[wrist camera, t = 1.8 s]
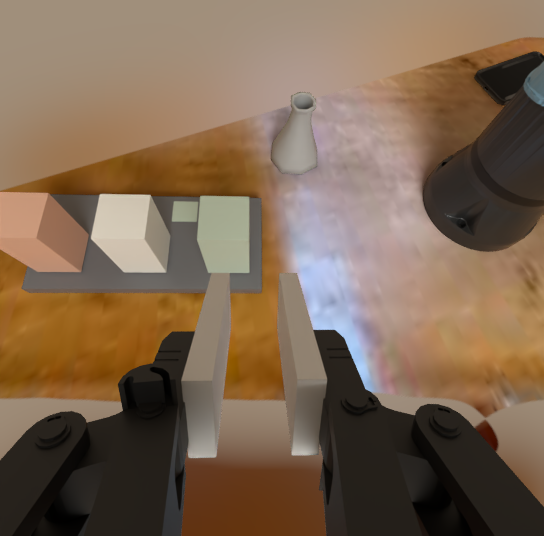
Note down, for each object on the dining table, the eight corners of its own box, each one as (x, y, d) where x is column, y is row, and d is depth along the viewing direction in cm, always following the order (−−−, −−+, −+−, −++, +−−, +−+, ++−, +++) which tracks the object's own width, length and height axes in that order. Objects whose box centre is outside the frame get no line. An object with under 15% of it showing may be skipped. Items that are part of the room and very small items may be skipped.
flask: (264, 142, 51) (267, 84, 42) (309, 134, 52) (322, 76, 43) (277, 180, 49) (283, 128, 39) (324, 171, 50) (340, 118, 41)
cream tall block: (170, 235, 42) (150, 194, 34) (166, 272, 41) (144, 239, 32) (130, 235, 42) (99, 193, 34) (124, 272, 40) (90, 238, 32)
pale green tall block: (249, 236, 43) (249, 196, 35) (249, 273, 41) (248, 240, 33) (210, 236, 43) (200, 195, 34) (208, 272, 41) (197, 239, 33)
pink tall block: (88, 234, 42) (48, 193, 34) (81, 272, 40) (36, 237, 32) (47, 234, 42) (-4, 192, 33) (37, 271, 40) (-20, 237, 31)
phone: (567, 78, 59) (503, 102, 56) (562, 84, 60) (499, 108, 57) (537, 49, 62) (474, 71, 59) (532, 55, 63) (470, 77, 60)
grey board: (261, 204, 47) (261, 197, 46) (261, 293, 42) (261, 289, 41) (53, 200, 45) (47, 193, 44) (29, 292, 41) (21, 288, 39)
